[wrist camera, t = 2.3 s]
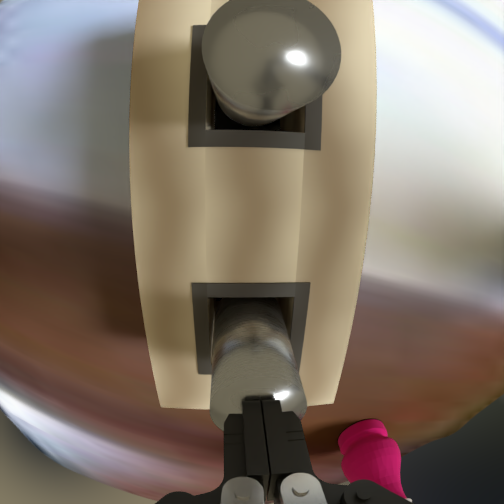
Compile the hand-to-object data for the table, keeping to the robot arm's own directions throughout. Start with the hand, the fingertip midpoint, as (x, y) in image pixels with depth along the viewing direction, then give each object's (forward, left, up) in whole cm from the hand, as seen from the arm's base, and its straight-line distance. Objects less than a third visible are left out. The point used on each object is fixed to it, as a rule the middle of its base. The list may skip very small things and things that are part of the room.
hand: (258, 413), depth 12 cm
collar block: (0, -6, -14) cm, 16 cm away
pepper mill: (-15, +23, -14) cm, 31 cm away
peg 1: (0, -13, -8) cm, 15 cm away
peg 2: (0, 0, -8) cm, 8 cm away
